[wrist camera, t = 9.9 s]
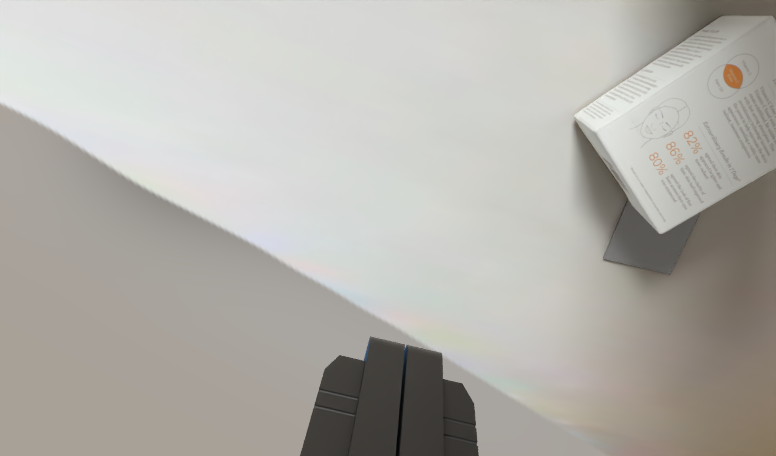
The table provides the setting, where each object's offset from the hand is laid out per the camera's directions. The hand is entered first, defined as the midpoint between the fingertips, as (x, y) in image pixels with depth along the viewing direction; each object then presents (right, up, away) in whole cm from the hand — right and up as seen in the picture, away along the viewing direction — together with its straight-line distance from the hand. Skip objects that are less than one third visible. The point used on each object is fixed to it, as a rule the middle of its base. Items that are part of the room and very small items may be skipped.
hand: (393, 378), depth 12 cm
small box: (+14, +6, +24) cm, 29 cm away
